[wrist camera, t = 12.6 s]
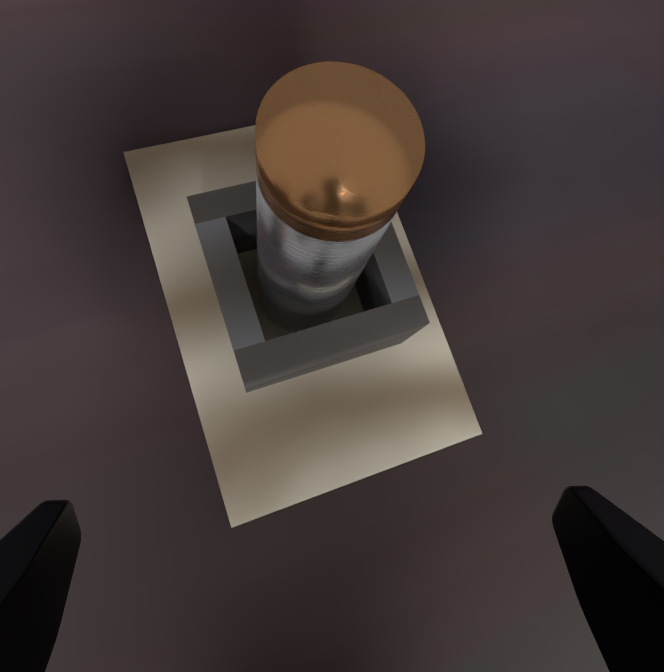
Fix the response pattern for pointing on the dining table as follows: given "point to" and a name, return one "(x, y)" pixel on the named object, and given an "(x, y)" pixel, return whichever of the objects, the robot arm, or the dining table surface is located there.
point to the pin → (327, 184)
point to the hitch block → (290, 341)
